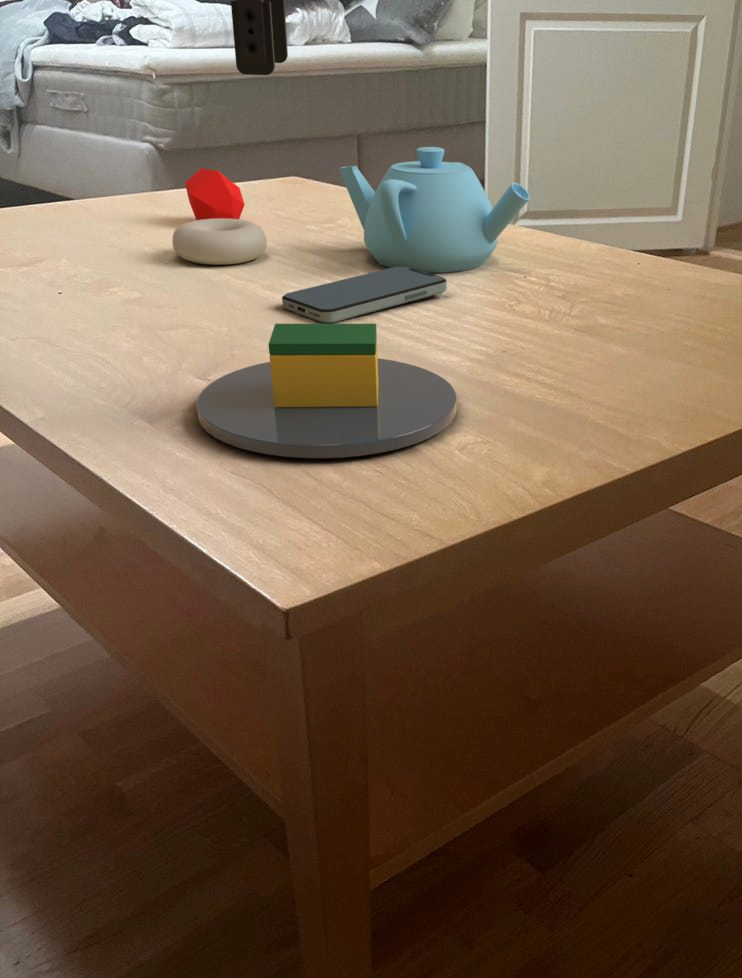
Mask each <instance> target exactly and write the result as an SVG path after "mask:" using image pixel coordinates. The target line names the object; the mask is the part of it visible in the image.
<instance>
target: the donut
mask: <svg viewBox="0 0 742 978" xmlns="http://www.w3.org/2000/svg"><path fill="white" fill-rule="evenodd" d="M267 244H268V240H267V235H266V234H265V230H263V228H262V227H260V225H258V224H256V223H254V222H252V221H249V220H245V219H240V218H239V219H224V218H220V219H202V220H196V219H195V220H191V221H187V222H184V223H182V224H180V225H179V226H178V227H177V228H175V230H173V233H172V248H173V250H174V251H175V253H176V255H178V256H179V257H181V258H182V259H183V260H186V261H188V262H191V263H195V264H200V265H211V266H212V265H213V266H221V265H235V264H237V265H238V264H242V263H248V262H250V261H254V260H256V259H258V258H259V257H260V256H262V255H263V253H264V252H265V251H266V249H267V246H268V245H267Z"/></svg>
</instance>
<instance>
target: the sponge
mask: <svg viewBox="0 0 742 978" xmlns="http://www.w3.org/2000/svg"><path fill="white" fill-rule="evenodd" d="M377 332H378V331H377V323H275V324H274V327H273V329H272V332H271V334H270V335H271V336H270V337H269V341H268V344H267V345H268V354H269V362H270V366H271V377H272V387H273V398H274V407H377V406H378V359H377V358H378V336H377V334H378V333H377Z"/></svg>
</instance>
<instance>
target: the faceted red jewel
mask: <svg viewBox="0 0 742 978" xmlns="http://www.w3.org/2000/svg"><path fill="white" fill-rule="evenodd" d="M184 185H185V189H186V193H187V198H188V203H189V205H190V207H191V210H192V213H193V216H194V218H195V221H196V220H202V219H220V218H224V219H239V220H240V218H241V216H242V214H243V210H244V208H245V206H246V205H245V202H244V198H243V195H242V191H241V188H240V187H239V185H237V184H235V182H233V181H232V180H231V179H229V178H228V177H227V176H225V175H224V174H223V173H221V172H220V171H219V170H216V169H208V168H200V169H199V170H198V171H196V173H195V172H194V174H193V175H192V176H191V177H190V178H189V179H187V181H185V182H184Z"/></svg>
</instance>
